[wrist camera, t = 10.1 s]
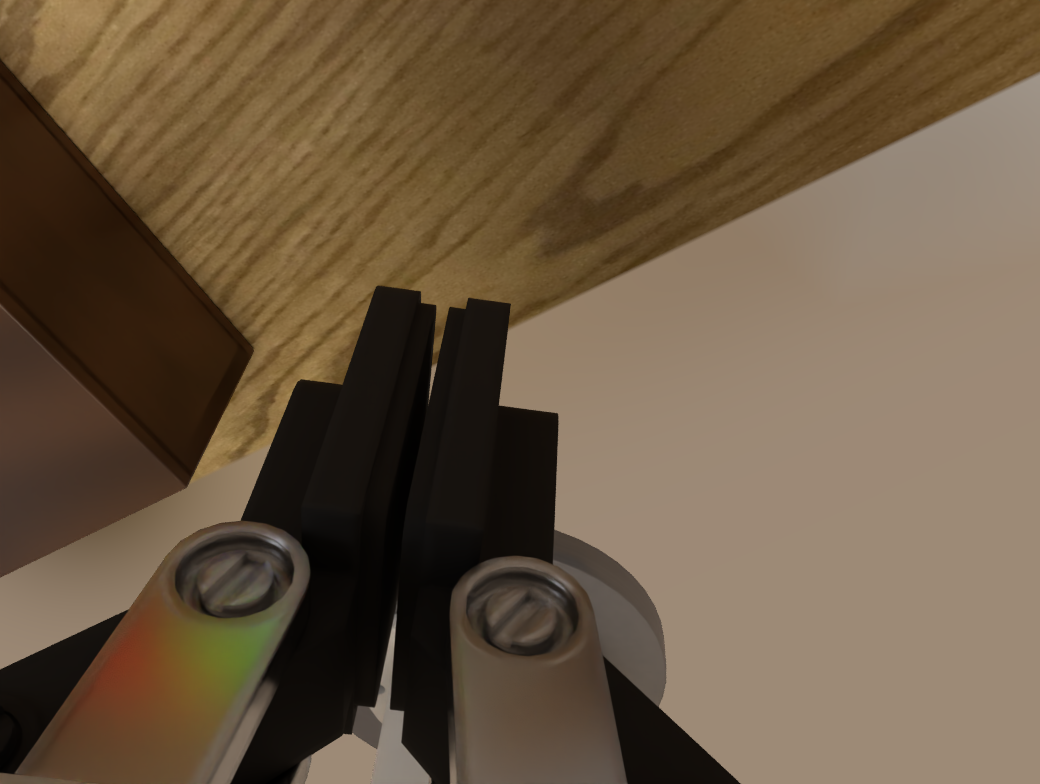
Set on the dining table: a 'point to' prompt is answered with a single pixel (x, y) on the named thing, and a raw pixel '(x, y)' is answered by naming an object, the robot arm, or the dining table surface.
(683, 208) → the dining table surface
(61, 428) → the cabinet
